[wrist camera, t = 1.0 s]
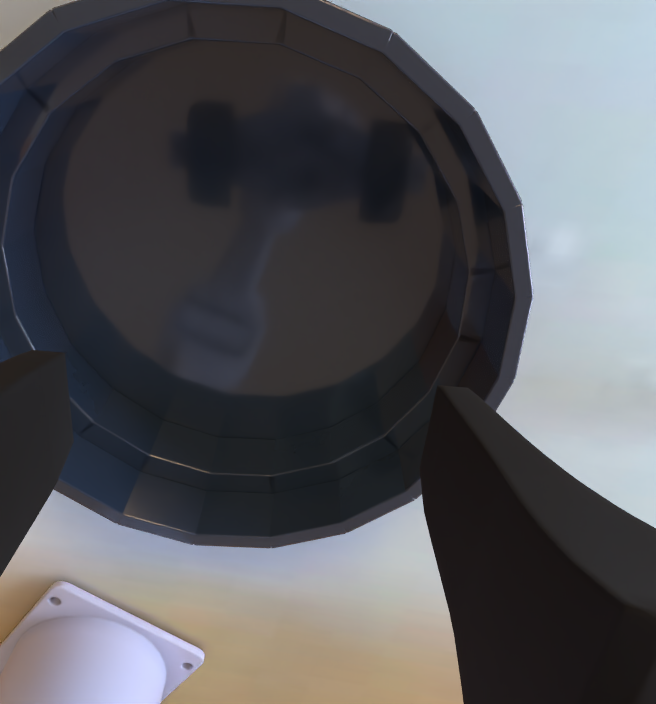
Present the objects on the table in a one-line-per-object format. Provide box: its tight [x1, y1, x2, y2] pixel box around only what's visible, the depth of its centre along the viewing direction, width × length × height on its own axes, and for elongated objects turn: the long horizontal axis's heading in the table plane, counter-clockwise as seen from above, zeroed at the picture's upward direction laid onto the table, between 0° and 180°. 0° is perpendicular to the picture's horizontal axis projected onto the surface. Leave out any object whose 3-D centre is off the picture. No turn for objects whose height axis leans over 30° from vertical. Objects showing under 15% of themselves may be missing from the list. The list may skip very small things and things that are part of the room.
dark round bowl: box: [0, 0, 533, 548], centre depth 19 cm, size 16×16×5 cm
